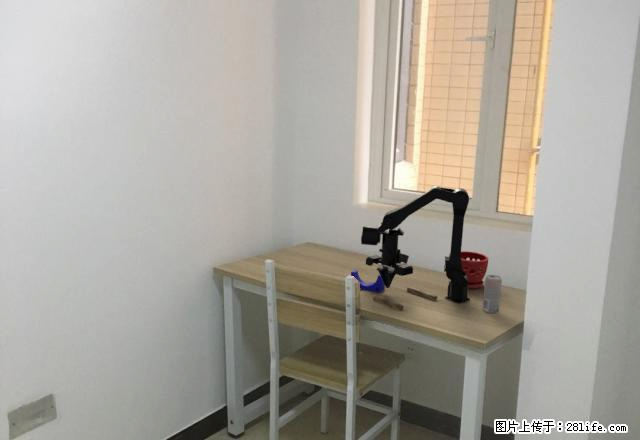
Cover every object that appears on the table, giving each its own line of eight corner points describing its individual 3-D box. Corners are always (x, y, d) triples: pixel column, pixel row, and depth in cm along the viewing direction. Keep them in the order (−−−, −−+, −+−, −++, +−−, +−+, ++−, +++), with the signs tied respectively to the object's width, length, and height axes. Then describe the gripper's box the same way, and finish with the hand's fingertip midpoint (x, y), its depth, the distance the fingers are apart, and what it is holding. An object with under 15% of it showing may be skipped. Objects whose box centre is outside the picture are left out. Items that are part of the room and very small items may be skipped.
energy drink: (495, 308, 205) (498, 274, 203) (501, 313, 200) (504, 279, 198) (480, 308, 205) (483, 274, 203) (485, 313, 200) (488, 279, 197)
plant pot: (447, 287, 227) (449, 256, 224) (455, 278, 238) (457, 249, 236) (482, 292, 221) (484, 261, 219) (488, 283, 233) (491, 253, 230)
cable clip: (384, 289, 222) (385, 273, 221) (380, 292, 218) (381, 276, 217) (354, 284, 227) (355, 268, 226) (350, 287, 223) (351, 271, 222)
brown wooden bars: (436, 299, 212) (437, 295, 212) (400, 310, 200) (400, 306, 200) (409, 290, 222) (410, 286, 222) (373, 300, 210) (373, 296, 210)
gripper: (424, 248, 212) (421, 290, 215) (386, 238, 226) (384, 277, 229) (403, 253, 205) (400, 296, 208) (365, 242, 219) (363, 282, 222)
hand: (387, 287), depth 217 cm, fingers closed
